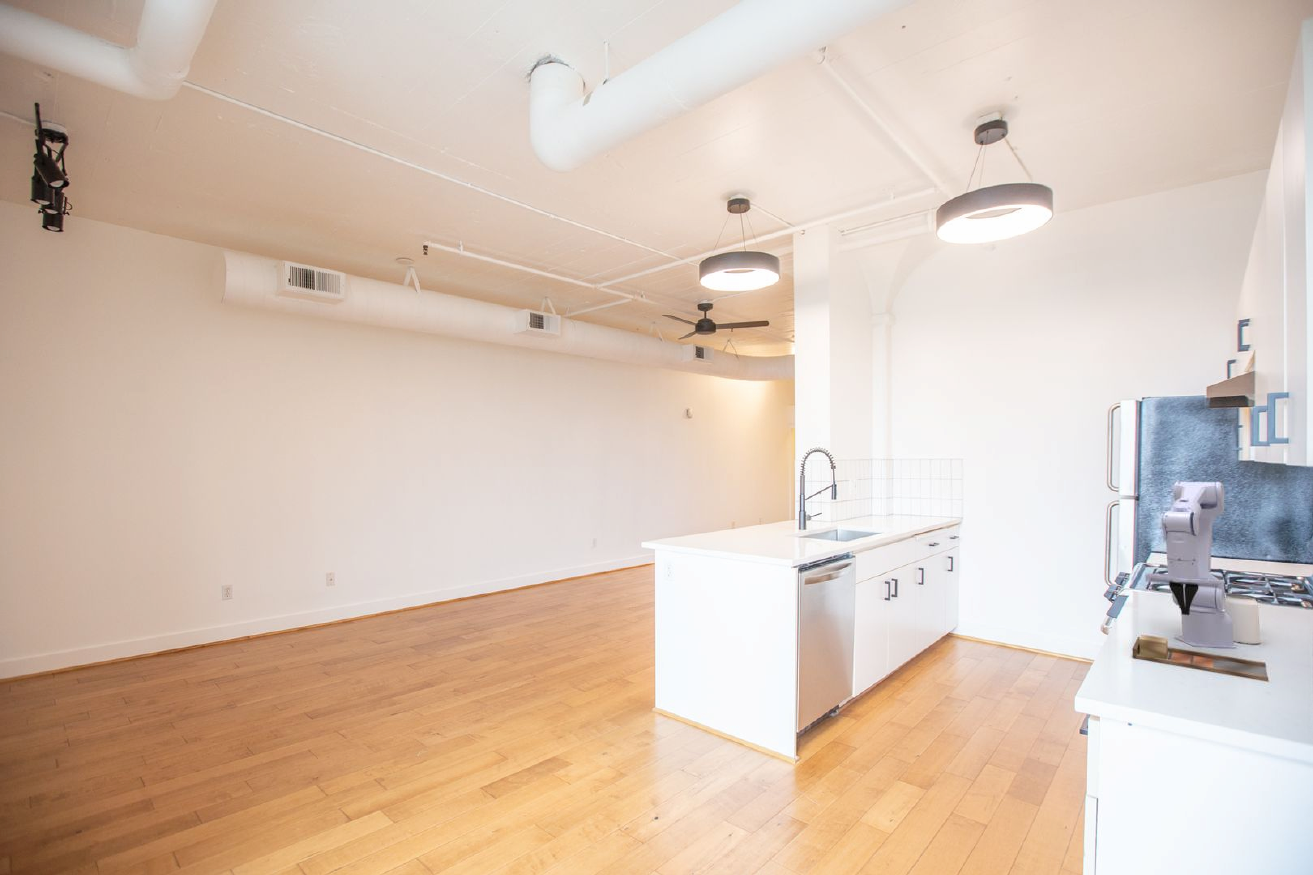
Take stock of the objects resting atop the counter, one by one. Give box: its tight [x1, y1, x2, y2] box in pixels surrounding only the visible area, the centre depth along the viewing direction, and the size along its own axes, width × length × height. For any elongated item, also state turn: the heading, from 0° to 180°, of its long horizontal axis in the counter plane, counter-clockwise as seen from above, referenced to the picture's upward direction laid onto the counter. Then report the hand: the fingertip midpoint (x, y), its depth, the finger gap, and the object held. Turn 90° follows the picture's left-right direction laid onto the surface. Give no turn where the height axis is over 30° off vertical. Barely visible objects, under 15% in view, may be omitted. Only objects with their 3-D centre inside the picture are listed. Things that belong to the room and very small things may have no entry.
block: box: [1139, 634, 1169, 659], centre depth 144 cm, size 5×5×4 cm
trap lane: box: [1132, 636, 1269, 682], centre depth 139 cm, size 23×13×2 cm, turn 45°
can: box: [1223, 593, 1261, 645], centre depth 154 cm, size 6×6×12 cm
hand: (1185, 613), depth 144 cm, fingers closed
